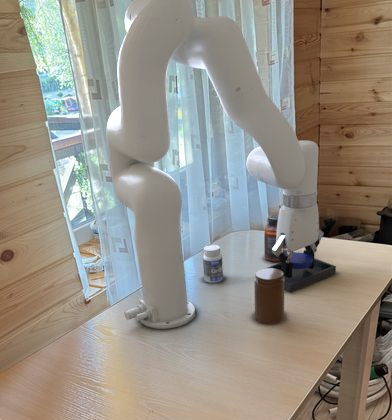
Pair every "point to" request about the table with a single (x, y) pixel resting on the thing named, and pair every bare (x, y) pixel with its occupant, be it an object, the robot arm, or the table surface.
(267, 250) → the supplement bottle
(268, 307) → the jar
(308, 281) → the tray
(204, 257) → the pill bottle
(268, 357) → the table surface
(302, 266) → the jar lid
